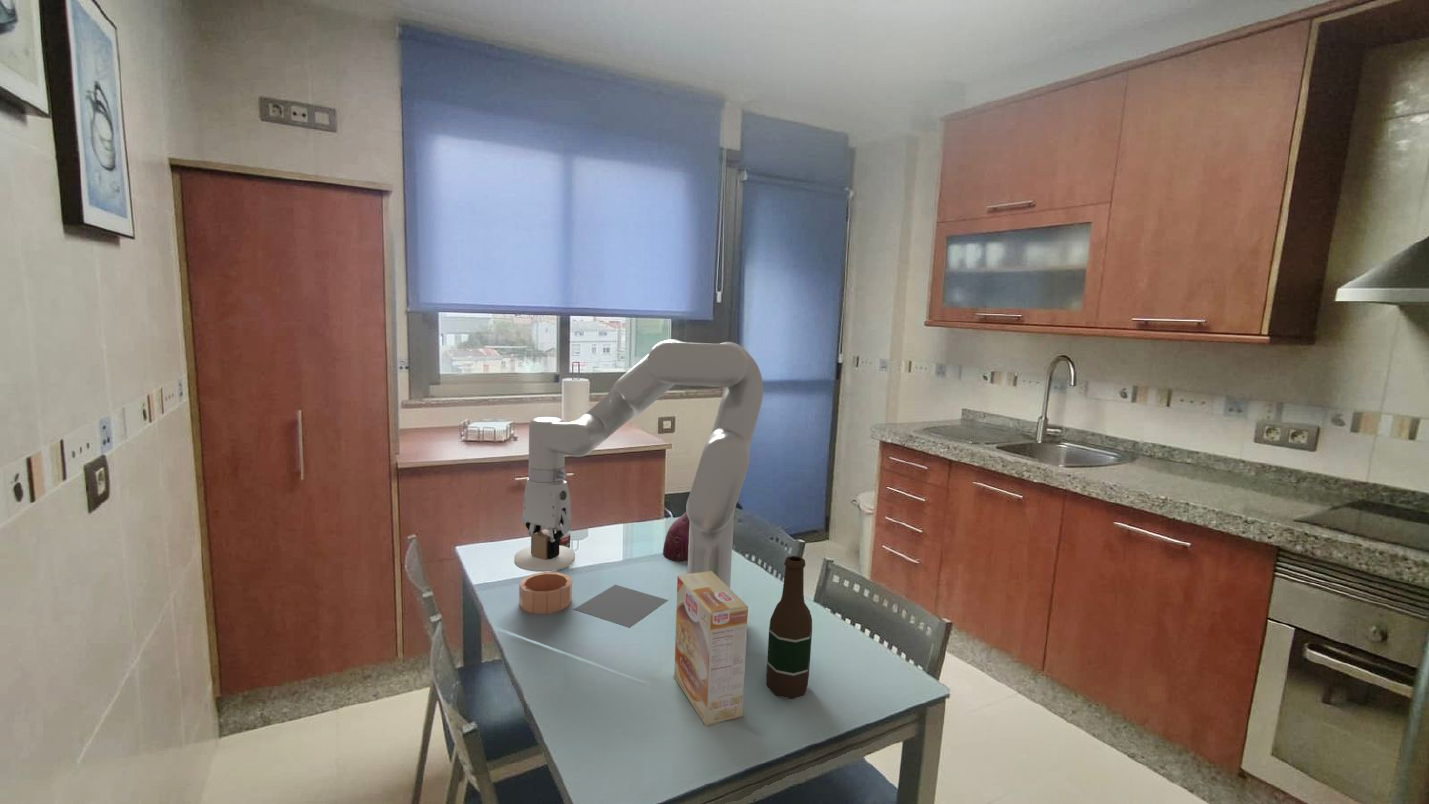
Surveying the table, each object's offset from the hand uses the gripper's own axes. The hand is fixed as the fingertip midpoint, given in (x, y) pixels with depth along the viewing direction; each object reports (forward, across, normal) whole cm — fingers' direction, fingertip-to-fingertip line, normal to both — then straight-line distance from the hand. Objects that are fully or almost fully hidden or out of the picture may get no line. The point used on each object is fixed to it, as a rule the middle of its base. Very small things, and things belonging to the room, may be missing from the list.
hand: (545, 553), depth 137 cm
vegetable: (+12, -10, -42) cm, 45 cm away
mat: (+11, -15, -8) cm, 21 cm away
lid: (+1, 0, 0) cm, 1 cm away
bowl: (+12, 0, 0) cm, 12 cm away
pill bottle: (+12, +15, -21) cm, 28 cm away
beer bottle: (+11, -58, +1) cm, 59 cm away
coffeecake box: (+11, -47, +11) cm, 50 cm away
